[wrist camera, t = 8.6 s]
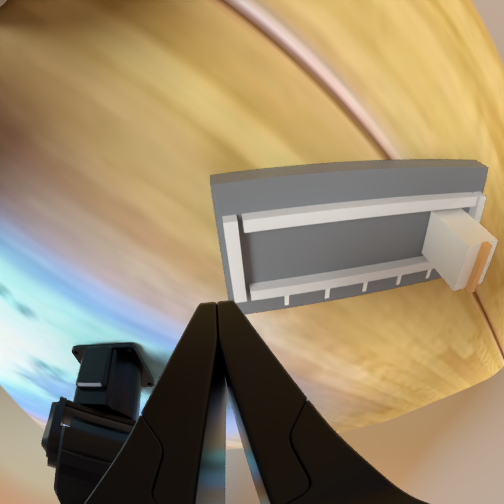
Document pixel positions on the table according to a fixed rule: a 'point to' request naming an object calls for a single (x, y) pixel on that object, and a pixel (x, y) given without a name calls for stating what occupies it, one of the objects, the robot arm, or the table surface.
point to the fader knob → (458, 248)
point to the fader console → (334, 227)
